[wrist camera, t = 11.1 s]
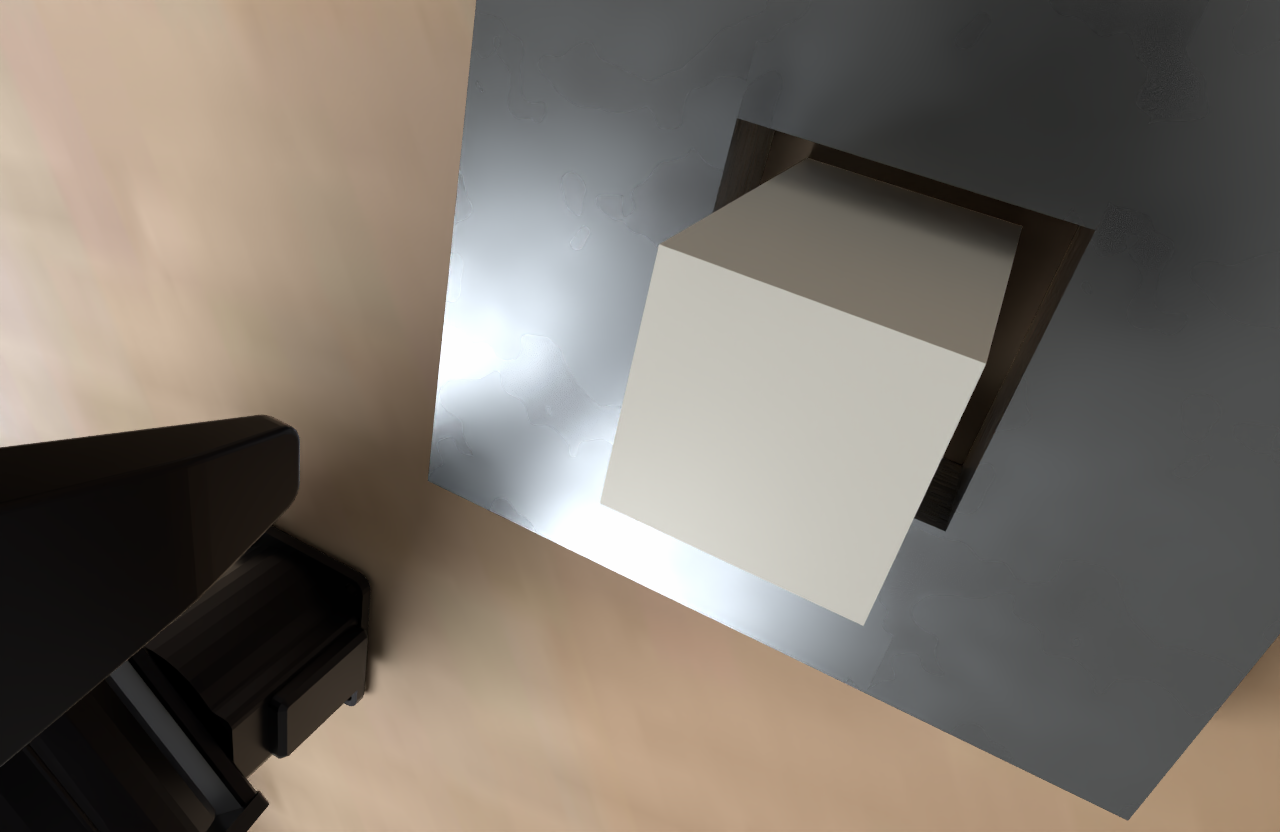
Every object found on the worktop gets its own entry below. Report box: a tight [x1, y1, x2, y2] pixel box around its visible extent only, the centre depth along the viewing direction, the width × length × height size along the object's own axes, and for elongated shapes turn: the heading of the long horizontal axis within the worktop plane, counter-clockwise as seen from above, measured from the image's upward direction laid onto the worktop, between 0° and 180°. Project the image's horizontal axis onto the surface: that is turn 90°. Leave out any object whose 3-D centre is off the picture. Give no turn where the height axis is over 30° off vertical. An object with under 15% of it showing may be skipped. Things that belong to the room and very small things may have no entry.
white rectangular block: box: [600, 158, 1022, 626], centre depth 16 cm, size 5×5×8 cm
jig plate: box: [428, 0, 1280, 820], centre depth 18 cm, size 18×16×3 cm
